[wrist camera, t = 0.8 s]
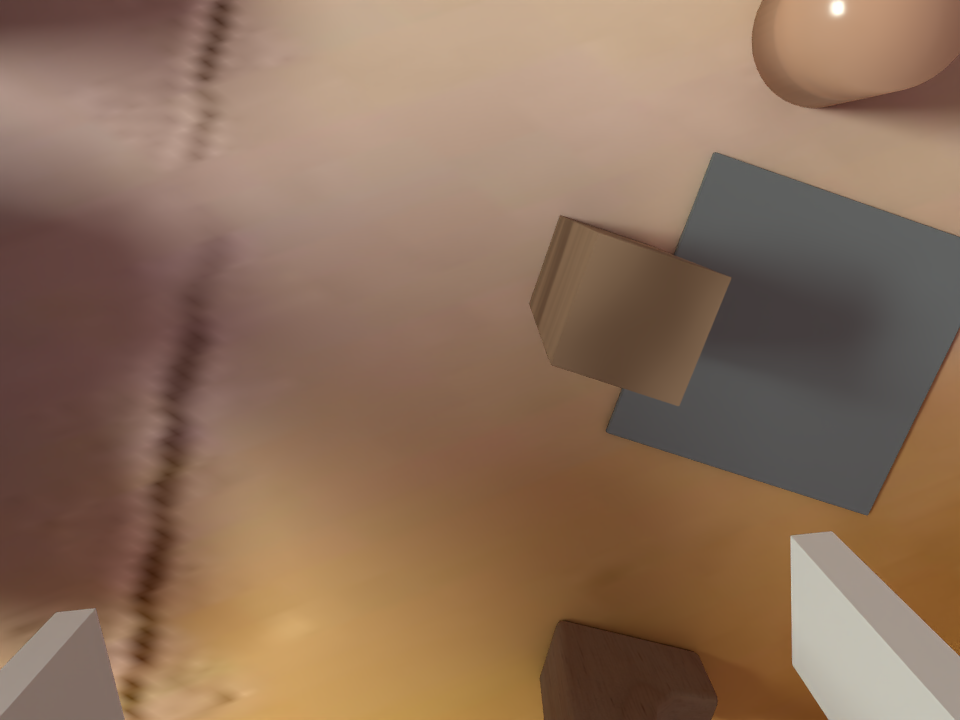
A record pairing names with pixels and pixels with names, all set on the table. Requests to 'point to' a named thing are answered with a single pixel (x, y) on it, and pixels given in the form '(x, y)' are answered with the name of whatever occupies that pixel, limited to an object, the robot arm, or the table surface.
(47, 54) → the table surface
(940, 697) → the robot arm
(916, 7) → the beige short cylinder
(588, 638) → the wooden block
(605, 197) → the table surface
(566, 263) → the walnut block
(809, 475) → the mat
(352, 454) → the table surface
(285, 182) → the table surface
